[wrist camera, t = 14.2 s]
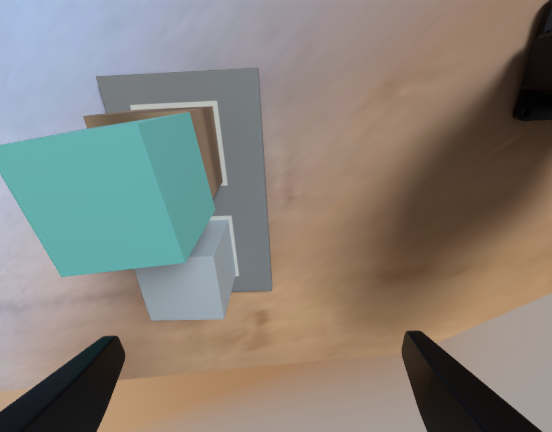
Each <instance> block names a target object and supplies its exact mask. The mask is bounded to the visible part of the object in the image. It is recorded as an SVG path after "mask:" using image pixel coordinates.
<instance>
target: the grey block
mask: <svg viewBox="0 0 552 432" xmlns="http://www.w3.org/2000/svg"><path fill="white" fill-rule="evenodd" d="M134 270H135V273H136V276H137V279H138V283H139V286H140V289H141V292H142V295H143V298H144V301H145V304H146V307H147V310H148V313H149V316H150V319H151V321H159V320H209V319H224V318H225V314H226V310H227V306H228V302H229V299H230V295H231V291H232V287H233V283H234V279H235V275H236V270H235V263H234V255H233V248H232V241H231V233H230V226H229V220H209V222H208V224H207V225H206V227H205V229H204V231H203V232H202V234H201V236H200V238H199V239H198V241H197V243H196V245H195V246H194V248H193V250H192V252H191V254H190V255H189V257H188V259H187V261H186V262H185V263H180V264H171V265H162V266H154V267H145V268H136V269H134Z"/></svg>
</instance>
